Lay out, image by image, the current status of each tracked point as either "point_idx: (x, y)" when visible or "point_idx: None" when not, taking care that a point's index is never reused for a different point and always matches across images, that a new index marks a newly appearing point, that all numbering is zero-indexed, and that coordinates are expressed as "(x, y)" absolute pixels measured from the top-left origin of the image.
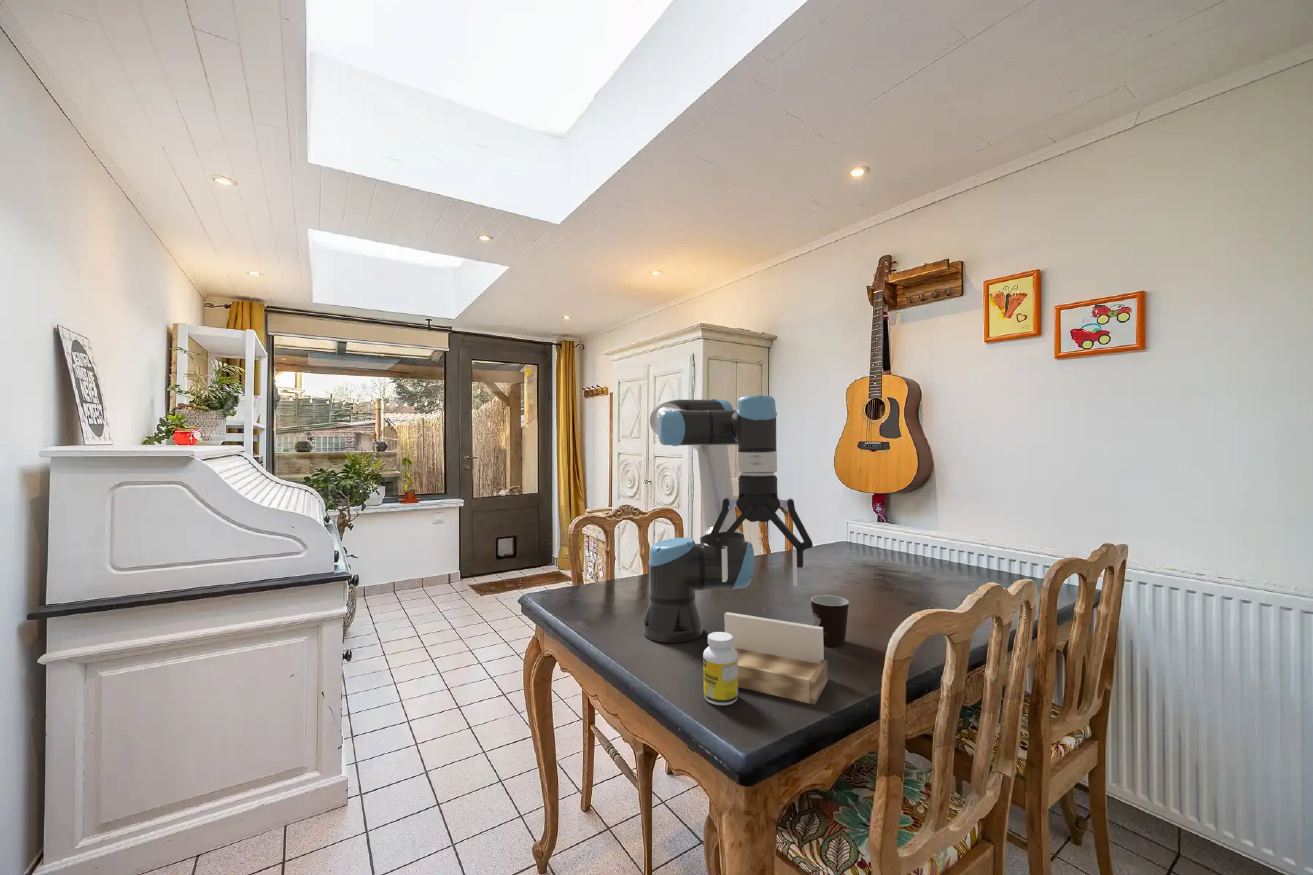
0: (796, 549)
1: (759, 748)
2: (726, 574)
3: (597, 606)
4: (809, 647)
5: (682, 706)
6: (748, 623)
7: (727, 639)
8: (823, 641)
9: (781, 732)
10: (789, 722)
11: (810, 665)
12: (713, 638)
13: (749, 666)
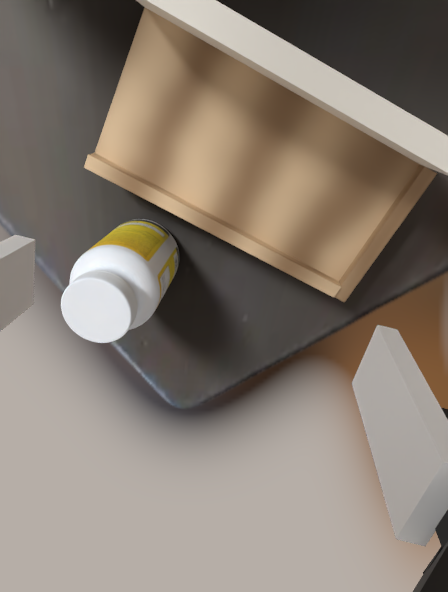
0: (440, 540)
1: (203, 401)
2: (15, 295)
3: None
4: (401, 151)
5: None
6: (209, 38)
7: (117, 336)
8: None
9: (245, 366)
10: (266, 339)
11: (382, 172)
12: (78, 326)
13: (203, 220)
